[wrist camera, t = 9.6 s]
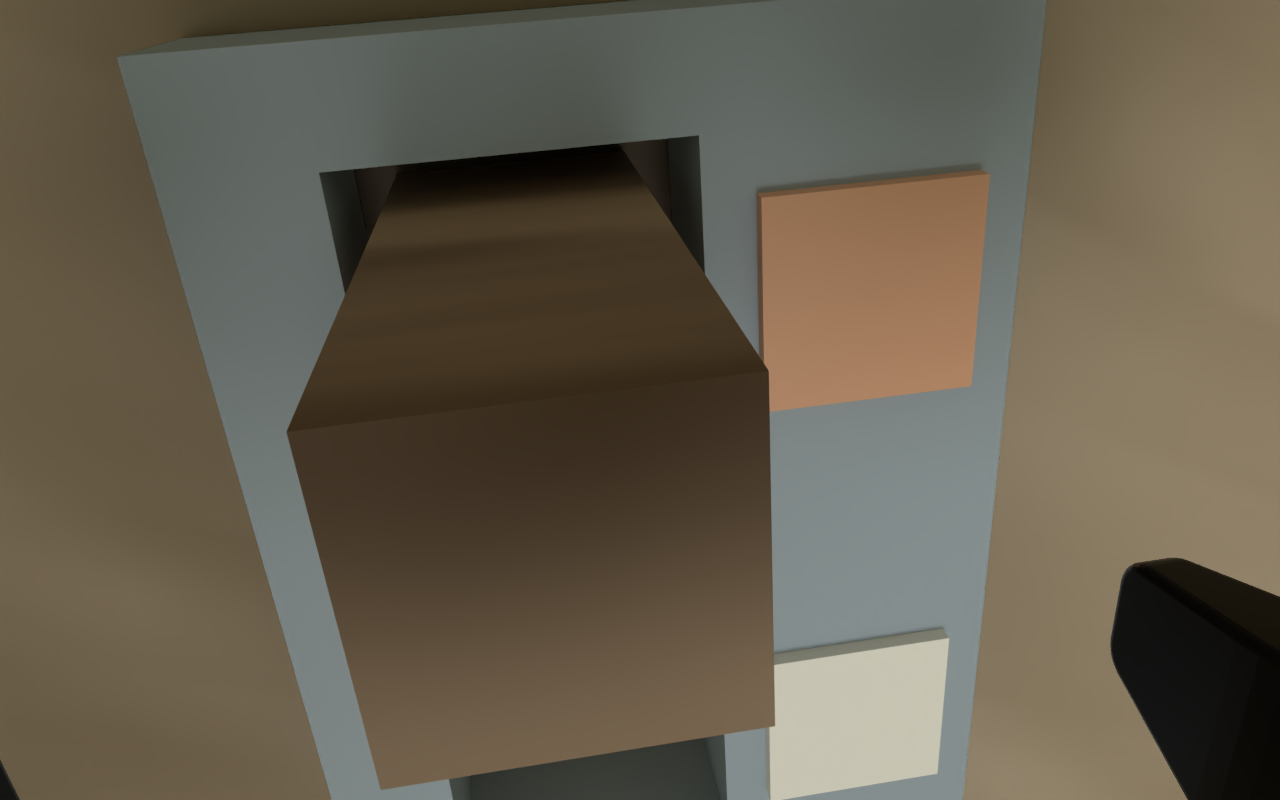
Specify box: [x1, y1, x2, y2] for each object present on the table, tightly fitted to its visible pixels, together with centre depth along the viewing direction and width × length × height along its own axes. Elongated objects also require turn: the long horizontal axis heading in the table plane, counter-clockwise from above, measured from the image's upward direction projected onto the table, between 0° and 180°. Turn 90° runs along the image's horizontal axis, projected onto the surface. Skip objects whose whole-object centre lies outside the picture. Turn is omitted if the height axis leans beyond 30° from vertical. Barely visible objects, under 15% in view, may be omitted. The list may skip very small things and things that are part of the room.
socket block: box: [117, 0, 1047, 800], centre depth 18 cm, size 18×13×3 cm
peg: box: [286, 151, 775, 790], centre depth 13 cm, size 4×4×10 cm
